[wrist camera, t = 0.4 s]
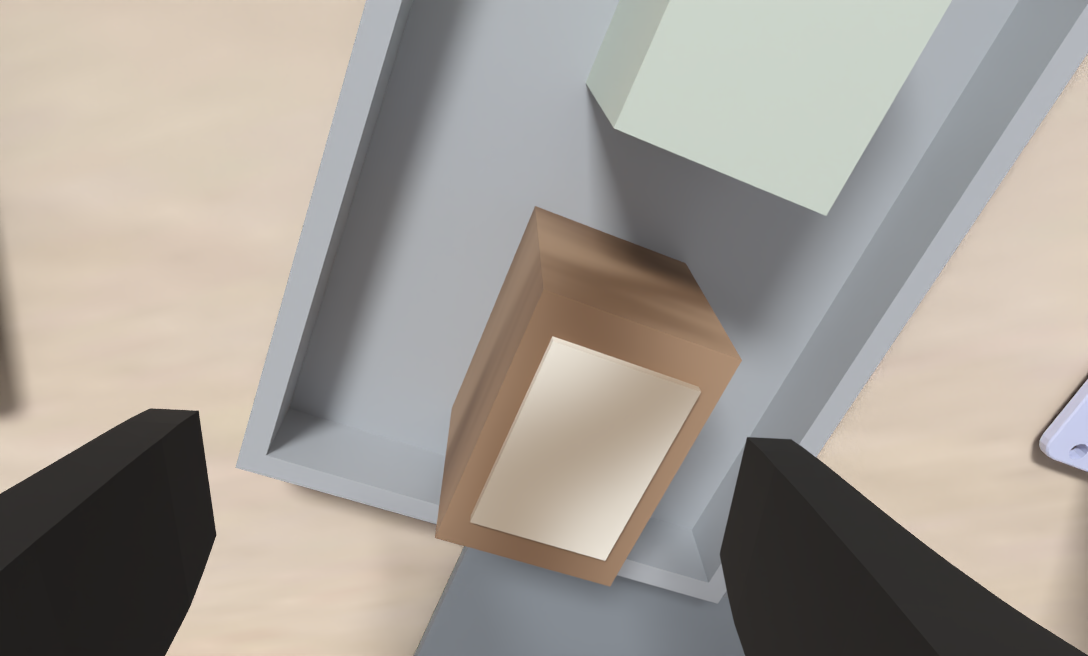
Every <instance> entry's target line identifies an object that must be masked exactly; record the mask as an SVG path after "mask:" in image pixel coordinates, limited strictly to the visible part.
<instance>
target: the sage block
mask: <svg viewBox="0 0 1088 656" xmlns="http://www.w3.org/2000/svg"><path fill="white" fill-rule="evenodd" d="M951 1H952V0H619V3H618V5H617V8H616V10H615V13H614V15H613V17H612V20H611V22H610V25H609V27H608V30H607V32H606V34H605V37H604V39H603V42H602V44H601V47H600V49H599V52H598V54H597V56H596V59H595V61H594V64H593V66H592V69H591V71H590V73H589V76H588V78H587V81H586V84H587V86H588V87H589V89H590V91H591V92H592V94H593V95H594V97H595V99H596V100H597V102H598V103H599V105H600V107H601V108H602V110H603V112H604V113H605V115H606V116H607V118H608V120H609V121H610V123H611V125H612V126H613V128H614V129H617V130H619V131H621V132H624V133H626V134H629V135H631V136H634V137H636V138H638V139H641V140H643V141H646V142H648V143H651V144H653V145H655V146H658V147H660V148H663V149H665V150H668V151H670V152H672V153H675V154H677V155H680V156H682V157H685V158H687V159H689V160H692V161H694V162H697V163H699V164H702V165H704V166H706V167H709V168H711V169H714V170H716V171H718V172H721V173H723V174H726V175H728V176H731V177H733V178H735V179H738V180H740V181H743V182H745V183H748V184H750V185H752V186H755V187H757V188H760V189H762V190H765V191H767V192H769V193H772V194H774V195H777V196H779V197H782V198H784V199H786V200H789V201H791V202H794V203H796V204H798V205H801V206H803V207H806V208H808V209H811V210H813V211H815V212H818V213H820V214H823V215H825V216H827V214H828V212H829V210H830V209H831V207H832V205H833V204H834V202H835V200H836V198H837V197H838V195H839V193H840V192H841V190H842V188H843V186H844V185H845V183H846V181H847V180H848V178H849V176H850V174H851V173H852V171H853V169H854V168H855V166H856V164H857V162H858V161H859V159H860V157H861V156H862V154H863V152H864V150H865V149H866V147H867V145H868V144H869V142H870V140H871V138H872V137H873V135H874V133H875V132H876V130H877V128H878V126H879V125H880V123H881V121H882V120H883V118H884V116H885V114H886V113H887V111H888V109H889V108H890V106H891V104H892V102H893V101H894V99H895V97H896V96H897V94H898V92H899V90H900V89H901V87H902V85H903V84H904V82H905V80H906V78H907V77H908V75H909V73H910V72H911V70H912V68H913V66H914V65H915V63H916V61H917V60H918V58H919V56H920V54H921V53H922V51H923V49H924V48H925V46H926V44H927V42H928V41H929V39H930V37H931V36H932V34H933V32H934V30H935V29H936V27H937V25H938V24H939V22H940V20H941V18H942V17H943V15H944V13H945V12H946V10H947V8H948V6H949V5H950V3H951Z"/></svg>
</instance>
